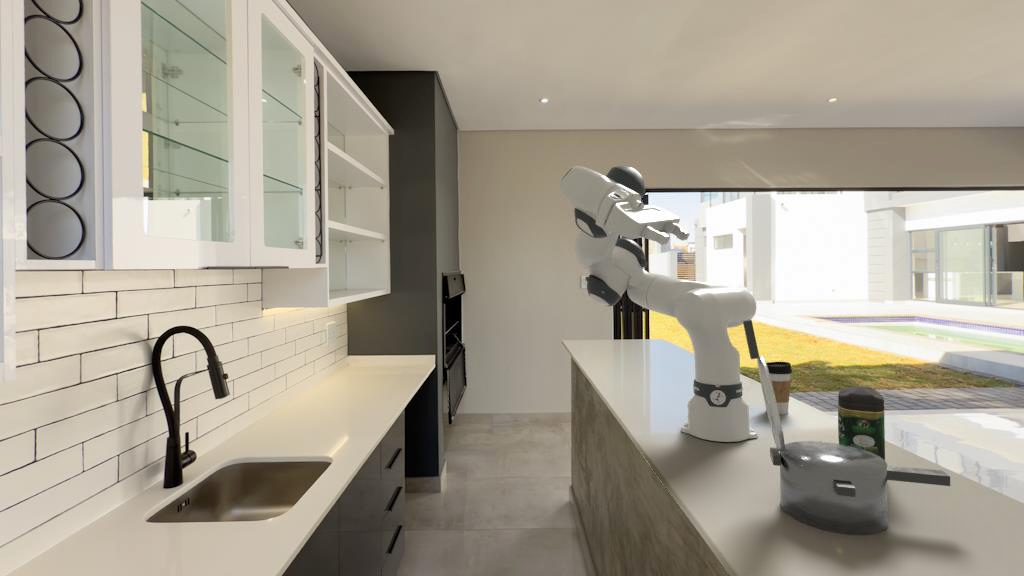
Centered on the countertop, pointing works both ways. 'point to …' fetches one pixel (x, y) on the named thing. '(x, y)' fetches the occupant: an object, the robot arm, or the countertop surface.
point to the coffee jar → (861, 419)
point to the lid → (765, 386)
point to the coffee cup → (781, 383)
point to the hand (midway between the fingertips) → (677, 239)
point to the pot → (841, 485)
